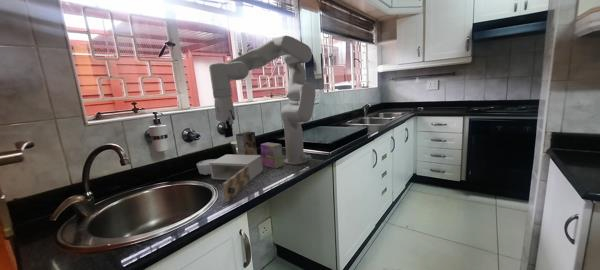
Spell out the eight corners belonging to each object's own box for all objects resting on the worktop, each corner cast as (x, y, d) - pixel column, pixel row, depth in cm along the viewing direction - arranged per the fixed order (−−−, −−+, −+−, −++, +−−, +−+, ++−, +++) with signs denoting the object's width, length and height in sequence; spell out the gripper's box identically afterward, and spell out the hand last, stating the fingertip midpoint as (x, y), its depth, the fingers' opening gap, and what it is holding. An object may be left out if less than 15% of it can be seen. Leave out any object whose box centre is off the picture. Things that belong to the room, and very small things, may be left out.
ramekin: (201, 169, 136) (200, 159, 135) (222, 167, 137) (221, 158, 136) (194, 176, 125) (193, 166, 124) (217, 174, 126) (216, 164, 125)
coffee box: (250, 157, 153) (247, 131, 149) (258, 158, 149) (255, 131, 146) (238, 161, 146) (235, 134, 142) (246, 163, 142) (242, 135, 139)
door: (247, 180, 113) (245, 165, 112) (253, 181, 113) (251, 166, 111) (225, 201, 94) (222, 183, 93) (232, 201, 94) (229, 183, 92)
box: (262, 165, 136) (260, 144, 133) (270, 162, 140) (268, 141, 137) (275, 169, 129) (273, 146, 126) (283, 165, 133) (281, 144, 130)
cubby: (262, 170, 127) (261, 155, 126) (249, 181, 114) (247, 164, 113) (228, 169, 133) (226, 154, 132) (211, 178, 120) (209, 162, 119)
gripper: (207, 94, 109) (214, 136, 113) (220, 94, 97) (227, 141, 101) (224, 93, 113) (230, 133, 117) (238, 92, 102) (244, 137, 106)
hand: (229, 136), depth 109 cm, fingers closed
